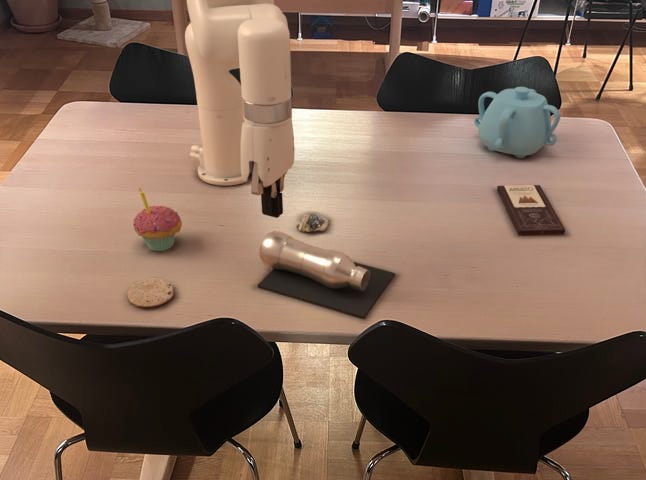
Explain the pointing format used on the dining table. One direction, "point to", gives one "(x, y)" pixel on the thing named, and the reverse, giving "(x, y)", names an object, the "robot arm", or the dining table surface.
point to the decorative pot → (516, 121)
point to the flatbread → (150, 292)
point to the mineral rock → (312, 223)
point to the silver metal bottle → (312, 262)
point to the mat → (329, 290)
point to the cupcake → (157, 225)
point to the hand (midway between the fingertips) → (272, 213)
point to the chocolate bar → (530, 210)
